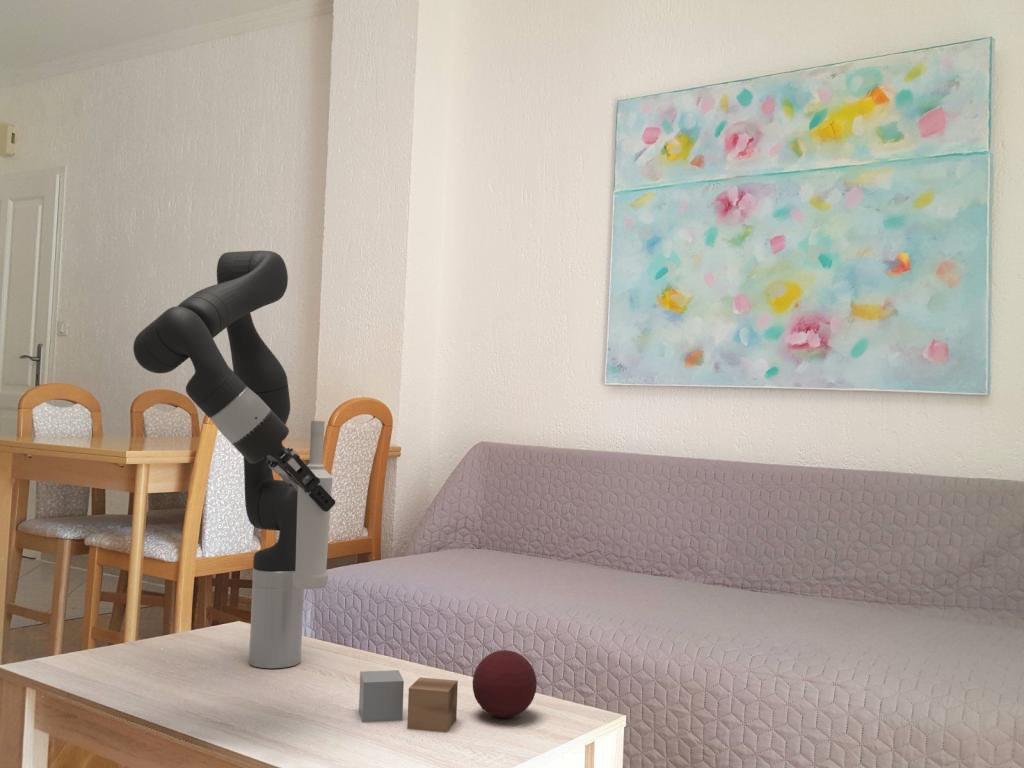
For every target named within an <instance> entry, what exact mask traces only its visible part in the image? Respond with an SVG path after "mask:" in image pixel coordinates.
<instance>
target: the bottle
mask: <svg viewBox="0 0 1024 768" xmlns="http://www.w3.org/2000/svg"><path fill="white" fill-rule="evenodd" d="M325 422H326V421H324V420H311V421H310V440H309V441H310V442H309V443H310V444H309V460H308V461H309V462H308V464H306V465H307V466H308V467H309V468H310V470H311V471H312V472H313V473H314V475H315V476H316V477H318V478H319V479H320V485H321V486H322V487H323V488H324V489H325V491H326V492H327V493H328V494H329V495H330V496H331V497H332V492H333V476H332V475H331V474H330V473H329V472H328V471H327V470H326V469H325V465H324V464H323V459H324V457H323V456H324V437H325V435H324V434H325ZM310 480H311V479H310V478H309V477H305V478H304V479H303V480H302V481H303V483H304V484H305V485H306V484H307V483H308V482H309V481H310ZM330 519H331V509H330V510H329V511H327V512H325V511H323V510H322V509H321V508H320V507H319V506H318V505H317V504H316V503H315V502H314V500H313V499H312V498H311V497H310V496H309V495H307V494H305V493H304V491H303V490H302V489H301V488H300V487H299V486H298V496H297V533H296V569H295V573H294V574H293V581H294V587H296V588H301V589H304V590H318V589H323V588H325V587H327V585H328V579H329V578H328V577H329V576H328V575H329V574H328V572H327V564H328V551H329V549H328V547H329V535H330Z"/></svg>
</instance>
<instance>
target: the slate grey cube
mask: <svg viewBox="0 0 1024 768" xmlns="http://www.w3.org/2000/svg"><path fill="white" fill-rule="evenodd" d="M359 672H360V673H359V697H358V712H359V716H360V719H361V722H362V723H378V722H397V721H398V722H400V721H402V722H403V713H404V712H403V711H404V710H403V709H404V708H403V707H404V686H405V685H404V682H405V680H404V678H403V677H402V674H401V672H400V670H398V669H397V670H396V669H394V670H392V669H391V670H371V671H370V670H369V671H368V670H367V671H366V670H365V671H364V670H363V671H359Z"/></svg>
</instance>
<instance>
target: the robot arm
mask: <svg viewBox="0 0 1024 768" xmlns="http://www.w3.org/2000/svg"><path fill="white" fill-rule="evenodd" d="M288 276H289V275H288V268H287V265H286V262H285V261H284V259H283V257H282V256H281V254H278V253H277V252H275V251H273V250H240V251H228V252H225V253H222V254H221V255H220V257H219V258H218V260H217V265H216V282H217V283H216V284H212V285H211V286H207V287H205V288H201V289H200V290H198V291H196V292H195V293H193V294H192V295H190V296H189V297H187V298H185V299H184V300H183V301H181V302H180V303H179V304H178V305H177V306H172V307H170V308H168V309H166V310H165V311H164V312H162V313H161V314H160V315H159V316H158V317H157V318H155V319H154V320H153V321H152V322H150V323H149V324H148V325H147V326H146V327H145V328H143V329H142V330H141V331H140V332H139V333H138V334H137V335H136V337H135V339H134V341H133V349H132V350H133V355H134V358H135V360H136V362H137V363H138V365H140V367H142V368H143V369H145V370H146V371H147V372H151V373H153V374H168V373H170V372H172V371H174V370H176V369H177V368H178V367H179V366H180V365H182V364H183V363H184V362H186V361H187V360H188V359H190V361H191V363H192V365H193V369H194V374H193V375H192V377H191V378H190V379H189V380H188V382H187V384H186V386H185V391H186V392H185V393H186V394H187V396H188V397H189V399H190V400H192V401H193V402H194V404H195V405H196V406H197V407H198V408H199V409H200V410H201V411H202V412H203V413H204V414H205V415H206V416H207V417H208V418H209V420H210V421H212V423H213V424H214V425H215V427H216V428H217V430H218V431H219V432H220V433H221V434H222V436H223V437H224V438H225V439H226V440H227V441H229V443H230V444H231V445H232V446H233V447H234V448H235V449H236V450H237V451H238V452H239V453H240V454H241V455H242V456H243V475H244V476H243V477H244V504H245V510H246V511H245V512H246V515H247V519H248V521H249V522H250V524H251V525H252V526H253V528H256V529H260V530H268V531H277V532H278V531H279V535H278V540H277V542H276V543H275V544H274V545H272V546H269V547H266V548H263V549H261V550H257V551H256V552H255V553H254V554H253V561H252V567H253V568H252V580H251V581H252V585H251V586H252V587H251V605H250V606H251V612H250V630H249V631H250V637H249V659H248V664H249V665H250V666H252V667H255V668H260V669H283V668H290V667H294V666H297V665H299V664H300V663H301V661H302V639H303V615H304V591H305V589H301V588H296V587H294V581H293V574H294V573H295V569H296V533H297V496H298V486H299V487H300V488H301V489H302V490H303V491H304V493H305V494H307V495H309V496H310V497H311V498H312V499H313V500H314V502H315V503H316V504H317V505H318V506H319V507H320V508H321V509H322V510H323V511H325V512H327V511H329V510H330V511H331V509H332V508H333V507H334V506H335V505H336V500H335V499H334V498H333V497H332V495H331V496H330V495H329V494H328V493H327V492H326V491H325V489H324V488H323V487H322V486H321V485H320V479H319V478H318V477H316V476H315V475H314V473H313V472H312V471H311V470H310V468H309V467H308V466H307V465H308V464H306V463H305V462H304V461H303V460H302V458H301V456H300V455H299V453H298V452H297V451H296V450H294V449H293V448H289V447H285V446H284V445H283V441H284V440H285V439H287V437H288V435H289V433H290V430H289V427H288V426H287V425H286V424H287V422H288V420H289V416H290V412H291V400H290V399H291V398H290V389H289V381H288V376H287V373H286V371H285V369H284V367H283V365H282V364H281V362H280V361H279V359H278V358H277V357H276V356H275V354H274V353H273V352H272V350H271V349H270V348H269V347H268V346H267V344H266V342H265V341H264V340H263V339H262V337H261V336H260V334H259V333H258V330H257V329H256V327H255V324H254V320H253V318H252V314H251V313H252V312H255V311H257V310H259V309H262V308H263V307H266V306H268V305H270V304H274V303H276V302H278V301H280V300H281V299H282V298H283V297H284V296H285V293H286V291H287V288H288V280H289V277H288ZM224 330H226V332H227V336H228V337H227V338H228V343H229V347H230V348H229V349H230V354H231V355H230V356H231V361H232V363H231V364H232V368H230V366H229V364H228V363H227V362H226V360H225V358H224V355H222V353H221V351H220V350H219V347H218V346H217V343H216V342H215V340H214V338H215V337H216V336H218V335H219V334H220V333H222V332H223V331H224ZM273 472H274V473H275V474H277V475H278V476H279V477H280V478H281V479H282V480H281V479H280V480H279V479H275V478H274V473H273ZM305 477H309V478H310V479H311V480H310V481H309V482H308V483H307V484H306V485H305V484H304V483H303V481H302V480H303V479H304V478H305Z"/></svg>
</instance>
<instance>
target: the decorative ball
mask: <svg viewBox="0 0 1024 768" xmlns="http://www.w3.org/2000/svg"><path fill="white" fill-rule="evenodd" d="M472 676H473V678H472V692H473V695H474V698H475V700H476V702H477V704H478V705H479V706H480V707H481V709H482V710H483V711H485V712H486V713H487V714H489V715H491V716H493V717H496V718H502V719H503V718H504V719H507V718H512V717H516V716H518V715H520V714H522V713H523V712H524V711H526V709H528V708H529V706H531V704H532V702H533V700H534V699H535V695H536V691H537V686H538V685H537V684H538V683H537V682H538V681H537V676H536V672H535V670H534V668H533V665H532V664H531V663H530V661H529V660H528V659H527V658H526V657H525V656H524V655H522V654H520V653H518V652H516V651H513V650H508V649H507V650H506V649H504V650H496V651H493V652H492V653H490V654H488V655H486V656H485V657H484V658H483V659H481V660H480V662H479V663H478V665H477V667H476V668H475V671H474V674H473V675H472Z"/></svg>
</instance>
